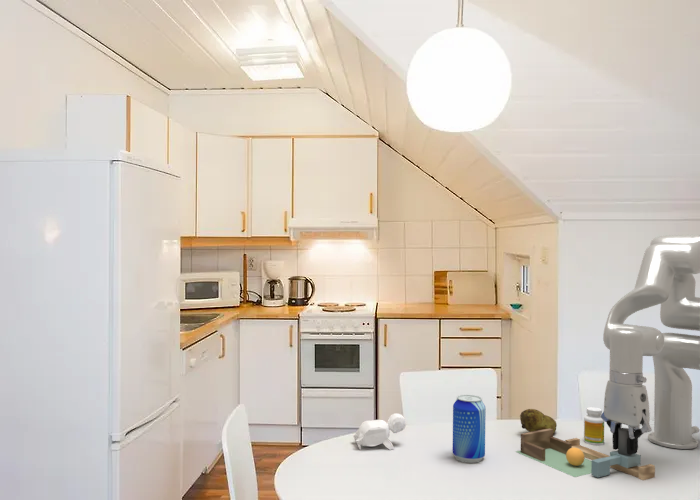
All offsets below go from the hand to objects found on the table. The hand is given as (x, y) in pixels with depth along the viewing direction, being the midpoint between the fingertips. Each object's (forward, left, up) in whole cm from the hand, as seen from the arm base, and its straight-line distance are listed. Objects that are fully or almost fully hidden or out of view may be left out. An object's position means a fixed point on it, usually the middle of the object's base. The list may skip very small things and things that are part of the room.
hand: (624, 450), depth 146 cm
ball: (+9, -8, -5) cm, 13 cm away
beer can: (+30, -24, -5) cm, 39 cm away
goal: (+9, -17, -5) cm, 20 cm away
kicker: (+4, 0, -5) cm, 6 cm away
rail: (0, -5, -5) cm, 7 cm away
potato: (-2, -30, -5) cm, 31 cm away
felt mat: (+9, -12, -5) cm, 16 cm away
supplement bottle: (-11, -18, -5) cm, 22 cm away
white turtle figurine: (+46, -43, -5) cm, 63 cm away
